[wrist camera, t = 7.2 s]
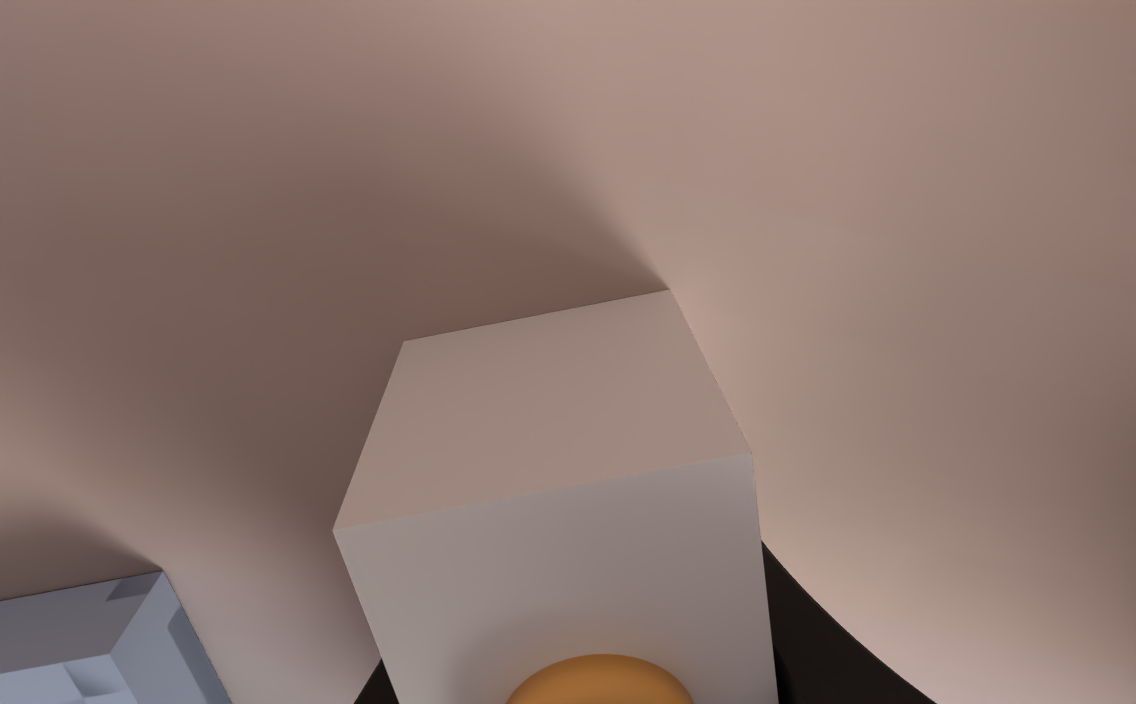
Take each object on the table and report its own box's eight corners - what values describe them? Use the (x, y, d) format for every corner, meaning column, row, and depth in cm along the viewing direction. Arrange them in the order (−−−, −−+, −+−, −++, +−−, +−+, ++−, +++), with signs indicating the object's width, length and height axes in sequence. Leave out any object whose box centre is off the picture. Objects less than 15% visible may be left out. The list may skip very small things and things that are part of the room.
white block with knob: (733, 723, 17) (824, 1044, 11) (530, 758, 17) (531, 1090, 12) (669, 289, 12) (767, 484, 7) (404, 340, 13) (317, 568, 8)
